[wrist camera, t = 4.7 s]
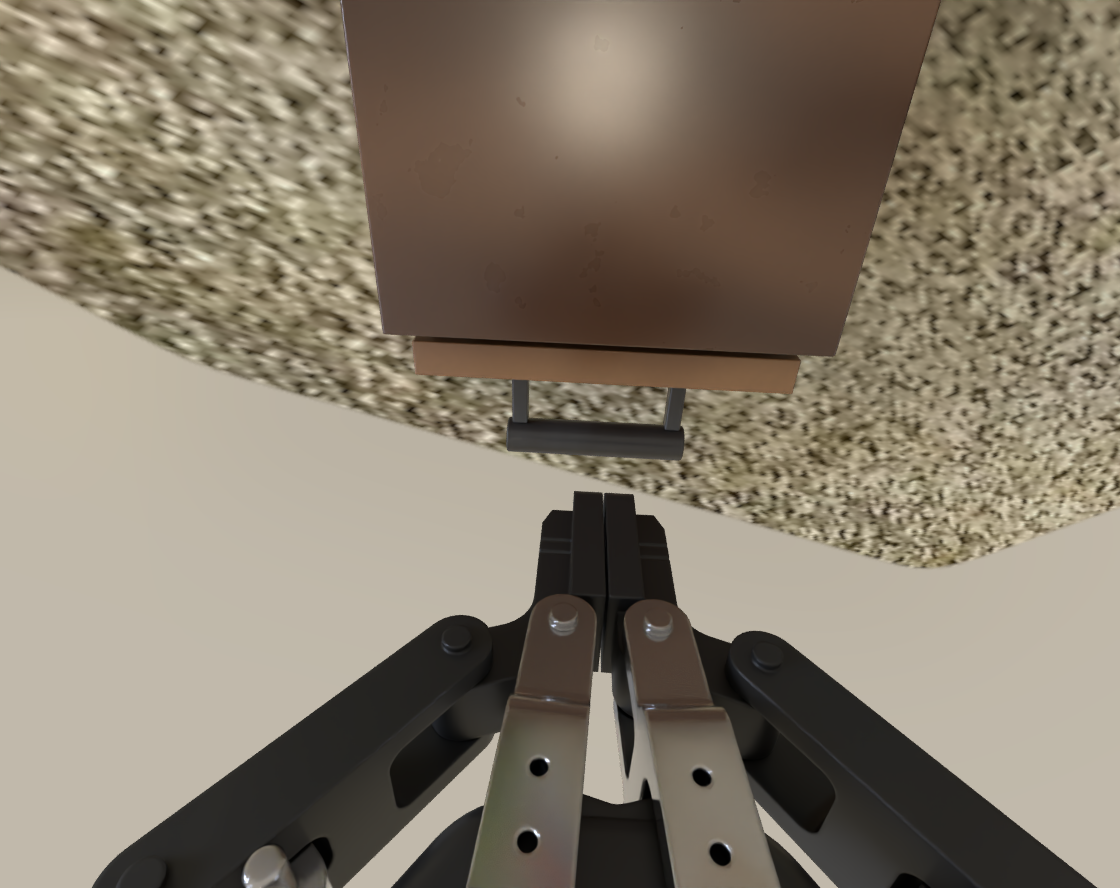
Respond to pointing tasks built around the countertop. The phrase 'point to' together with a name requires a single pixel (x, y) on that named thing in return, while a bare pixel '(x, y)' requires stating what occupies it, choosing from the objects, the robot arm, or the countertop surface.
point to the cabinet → (628, 164)
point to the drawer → (602, 368)
